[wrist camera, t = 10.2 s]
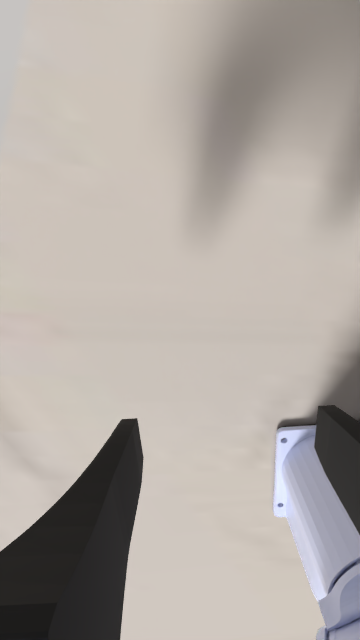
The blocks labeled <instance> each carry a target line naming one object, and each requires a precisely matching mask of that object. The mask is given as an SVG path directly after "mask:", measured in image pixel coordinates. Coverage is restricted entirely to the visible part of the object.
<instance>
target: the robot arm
mask: <svg viewBox="0 0 360 640" xmlns="http://www.w3.org/2000/svg"><path fill="white" fill-rule="evenodd" d="M282 438H285V439H283V440H281V439H282ZM142 470H143V453H142V446H141V440H140V433H139V427H138V421H137V418H136V419H122V420H121V421H120V422H119V424H118V425H117V427H116V428H115V430H114V431H113V433H112V434H111V436H110V437H109V439H108V440H107V442H106V443H105V445H104V446H103V447H102V449H101V450H100V451H99V453H98V454H97V456H96V457H95V458H94V460H93V461H92V462H91V464H90V465H89V466H88V467H87V468H86V470H85V471H84V472H83V473H82V475H81V476H80V477H79V478H78V479H77V481H76V482H75V483H74V484H73V485H72V486H71V487H70V488H69V490H68V491H67V492H66V493H65V494H64V495H63V496H62V497H61V498H60V499H59V500H58V501H57V502H56V503H55V504H54V505H53V506H52V507H51V508H50V509H49V510H48V511H47V512H46V513H45V514H44V515H43V516H42V517H41V518H40V519H38V520H37V521H36V522H35V523H34V524H33V525H32V526H31V527H30V528H29V529H27V530H26V531H25V532H24V533H23V534H22V535H20V536H19V537H18V538H17V539H16V540H14V541H13V542H12V543H11V544H9V545H8V546H7V547H6V548H4V549H3V550H2V551H1V552H0V640H120V633H121V622H122V611H123V600H124V590H125V580H126V570H127V561H128V554H129V547H130V541H131V536H132V531H133V526H134V520H135V515H136V510H137V505H138V499H139V494H140V488H141V482H142ZM273 512H274V515H275V516H277V517H287V520H288V523H289V526H290V529H291V532H292V535H293V537H294V540H295V543H296V546H297V549H298V552H299V555H300V558H301V561H302V564H303V566H304V569H305V572H306V575H307V578H308V581H309V584H310V587H311V589H312V592H313V594H314V596H315V598H316V600H317V602H318V604H319V607H320V610H321V613H322V616H323V618H324V621H325V624H326V625H325V626H323V627H321V628H320V629H319V630H318V632H317V635H316V640H360V422H358V421H356V420H355V419H354V418H352V417H351V416H349V415H348V414H346V413H345V412H343V411H342V410H340V409H339V408H337V407H336V406H334V405H331V406H318V414H317V424H316V425H309V426H294V427H282V428H279V429H278V430H277V433H276V454H275V476H274V498H273Z"/></svg>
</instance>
